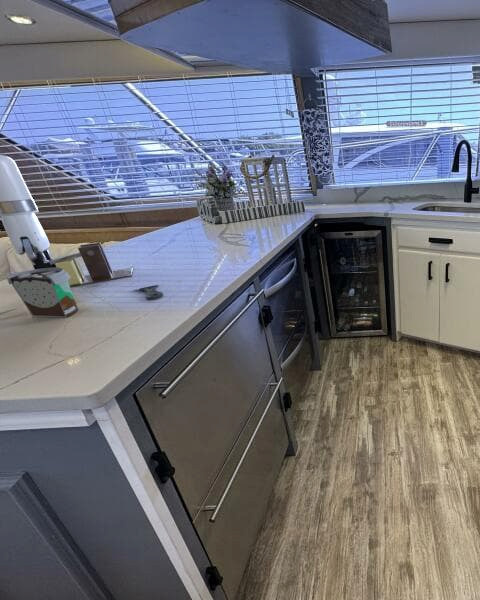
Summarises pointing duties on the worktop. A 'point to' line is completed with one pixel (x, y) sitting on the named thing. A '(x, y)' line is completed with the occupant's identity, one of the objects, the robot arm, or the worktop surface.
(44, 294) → the food container
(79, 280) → the butter
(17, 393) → the worktop surface
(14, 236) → the robot arm
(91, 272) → the slicer
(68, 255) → the lever
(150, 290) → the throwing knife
